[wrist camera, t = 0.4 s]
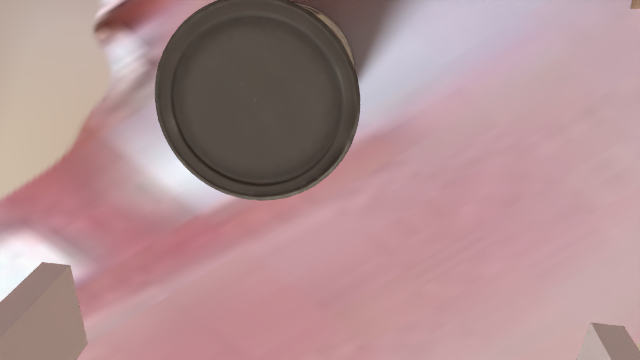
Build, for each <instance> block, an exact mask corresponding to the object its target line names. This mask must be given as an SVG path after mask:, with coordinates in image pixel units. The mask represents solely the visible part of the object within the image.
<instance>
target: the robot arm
mask: <svg viewBox="0 0 640 360" xmlns="http://www.w3.org/2000/svg"><path fill="white" fill-rule="evenodd" d="M87 344H88V342H87V338H86V333H85V329H84V324H83V320H82V315H81V311H80V306H79V302H78V297H77V293H76V289H75V284H74V280H73V275H72V271H71V266H70V265H63V264H54V263H45V262H42V263H41V264H40V265H39V266H38V267H37V268H36V269H35V270H34V271H33V272H32V273H31V274H30V275H29V276H28V277H26V278H25V279H24V280H23V281H22V282H21V283H20V284H19V285H18V286H17V287H16V288H15V289H14V290H13V291H12V292H11V293H10V294H9V295H8V296H7V297H5V298H4V299H3V300H2V301H1V302H0V360H76V359H77V358H78V357H79V355H80V354H81V352H82V351H83V350H84V348H85V347H86V346H87ZM576 360H640V351H639V349H638V348H637V346H636V345H635V343H634V341H633V340H632V338H631V337H630V335H629V334H628V332H627V330H626V329H625V327H624V326H616V325H607V324H598V323H590V326H589V328H588V331H587V334H586V336H585V339H584V341H583V344H582V346H581V349H580V351H579V354H578V357H577V359H576Z"/></svg>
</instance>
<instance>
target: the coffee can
mask: <svg viewBox="0 0 640 360" xmlns="http://www.w3.org/2000/svg"><path fill="white" fill-rule="evenodd" d="M155 103H156V110H157V115H158V121H159V123H160V126H161V129H162V132H163V134H164V136H165V138H166V140H167V142H168V144H169V146H170V147H171V149H172V151H173V152H174V154H175V155H176V157H177V158H178V159H179V160H180V162H181V163H182V164H183V165H184V166H185V167H186V168H187V169H188V170H189V171H190V172H191V173H192V174H193V175H195V176H196V177H197V178H198V179H200V180H201V181H203V182H204V183H205V184H207V185H209V186H210V187H212V188H214V189H216V190H218V191H221V192H223V193H225V194H228V195H231V196H235V197H238V198H243V199H249V200H276V199H282V198H287V197H291V196H293V195H296V194H299V193H302V192H304V191H306V190H308V189H310V188H312V187H313V186H315V185H317V184H318V183H319V182H321V181H322V180H323V179H325V178H326V177H327V176H328V175H329V174H330V173H331V172H332V171H333V170H334V169H335V168H336V167H337V166H338V165H339V163H340V162H341V161H342V160H343V158H344V157H345V155H346V153H347V152H348V150H349V148H350V146H351V144H352V141H353V138H354V136H355V133H356V129H357V126H358V121H359V115H360V92H359V85H358V79H357V76H356V72H355V69H354V58H353V56H352V52H351V49H350V46H349V44H348V42H347V39H346V38H345V36H344V34H343V33H342V31H341V30H340V29H339V28H338V26H337V25H336V24H335V23H334V22H333V21H332V20H331V19H330V18H329V17H327V16H326V15H325V14H323V13H322V12H320V11H318V10H316V9H314V8H312V7H309V6H306V5H302V4H298V3H294V2H291V1H289V0H217V1H215V2H213V3H210V4H208V5H206V6H204V7H202V8H201V9H199V10H198V11H196V12H195V13H193V14H192V15H191V16H190V17H189V18H187V19H186V20H185V21H184V22H183V23H182V24H181V25H180V26H179V28H178V29H177V30H176V32H175V33H174V34H173V35H172V37H171V39H170V40H169V42H168V44H167V46H166V48H165V49H164V51H163V54H162V57H161V59H160V62H159V65H158V69H157V74H156V81H155Z"/></svg>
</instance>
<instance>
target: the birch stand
mask: <svg viewBox="0 0 640 360" xmlns="http://www.w3.org/2000/svg"><path fill="white" fill-rule="evenodd" d="M630 9H640V0H632V4H631V8H630Z"/></svg>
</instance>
